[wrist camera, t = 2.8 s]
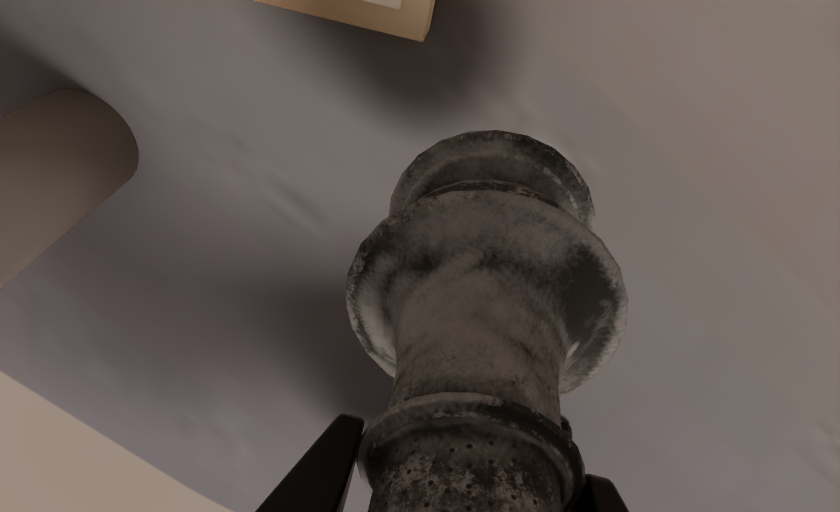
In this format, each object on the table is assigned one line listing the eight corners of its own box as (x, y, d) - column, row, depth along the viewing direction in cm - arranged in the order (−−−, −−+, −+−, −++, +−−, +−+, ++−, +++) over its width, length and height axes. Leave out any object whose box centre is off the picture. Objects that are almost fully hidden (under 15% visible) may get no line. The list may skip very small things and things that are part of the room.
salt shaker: (341, 246, 16) (70, 846, 6) (454, 68, 13) (247, 747, 3) (515, 343, 17) (504, 977, 8) (659, 202, 14) (963, 1000, 4)
